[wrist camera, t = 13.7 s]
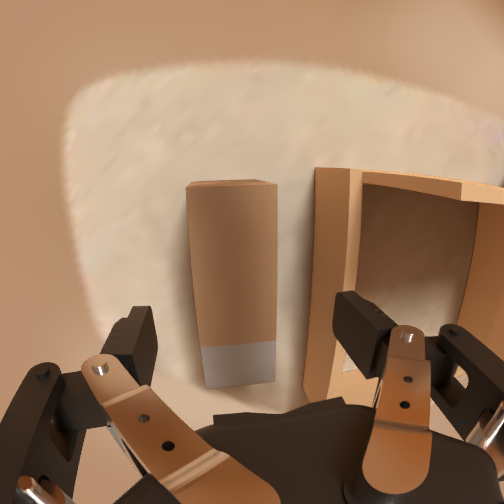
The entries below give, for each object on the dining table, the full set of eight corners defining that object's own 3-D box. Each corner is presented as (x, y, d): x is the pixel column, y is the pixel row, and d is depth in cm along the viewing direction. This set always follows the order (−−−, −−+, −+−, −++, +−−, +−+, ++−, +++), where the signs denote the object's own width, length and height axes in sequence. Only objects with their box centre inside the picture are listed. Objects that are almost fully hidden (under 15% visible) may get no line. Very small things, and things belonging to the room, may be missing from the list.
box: (254, 179, 18) (277, 184, 13) (256, 330, 22) (274, 381, 16) (191, 182, 18) (186, 188, 12) (203, 334, 21) (206, 388, 15)
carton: (484, 184, 22) (578, 206, 10) (453, 344, 27) (517, 399, 16) (315, 167, 19) (447, 177, 7) (302, 387, 24) (353, 493, 13)
